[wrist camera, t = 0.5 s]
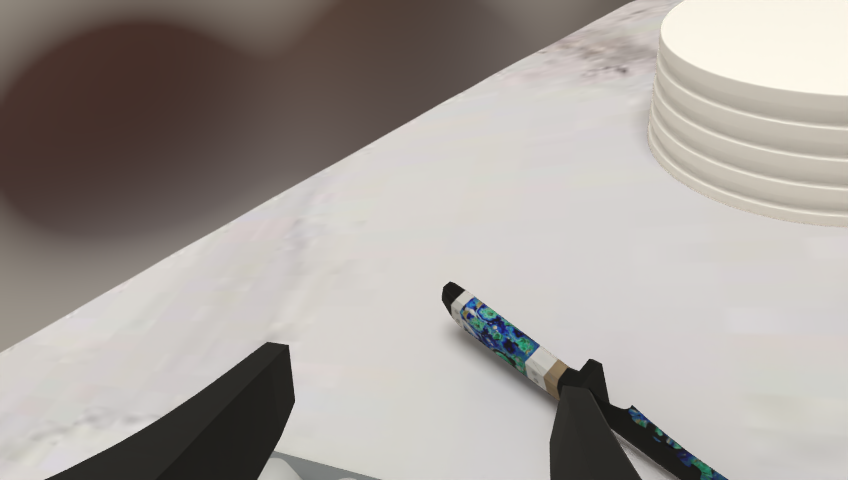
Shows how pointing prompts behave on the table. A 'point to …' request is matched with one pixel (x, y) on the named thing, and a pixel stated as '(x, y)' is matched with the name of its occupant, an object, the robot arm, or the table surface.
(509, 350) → the knife
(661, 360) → the table surface
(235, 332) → the table surface
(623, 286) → the table surface
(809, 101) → the plate stack
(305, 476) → the spacer board
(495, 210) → the table surface
